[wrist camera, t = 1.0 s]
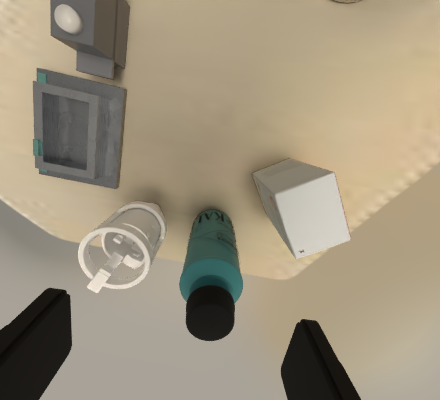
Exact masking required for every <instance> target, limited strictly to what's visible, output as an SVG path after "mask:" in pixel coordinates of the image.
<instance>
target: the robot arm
mask: <svg viewBox="0 0 440 400" xmlns="http://www.w3.org/2000/svg"><path fill="white" fill-rule="evenodd" d="M335 1H338V2H344V3H350V2H358V1H360V0H335ZM71 335H72V334H71V306H70V295H69V294H67V292H66V290H62V289H54V288H48V289H46V290H45V291H44V292H43V293H42V294H41V295H40V296H38V298H36V299H35V300H34V301H33V302H32V303H31V304H30V305H29V306H28V307H27V308H26V309H25V310H24V311H22V312H21V313H20V314H19V315H18V316H17V317H16V318H15V319H14V320H13V321H12V322H11V323H10V324H9V325H6V326H5V327H4V328H2V329H1V330H0V400H39V399H40V397H41V396H42V394H43V393H44V391H45V390H46V388H47V387H48V385H49V384H50V382H51V380H52V379H53V377H54V376H55V374H56V373H57V371H58V370H59V368H60V367H61V365H62V364H63V362H64V361H65V359H66V358H67V356H68V354H69V352H70V350H71V346H72V336H71ZM281 377H282V380H283V384H284V388H285V392H286V395H287V399H288V400H361V399H360V397H359V395H358V393H357V391H356V390H355V388H354V386H353V384H352V382H351V381H350V378H349V377H348V375H347V373H346V371H345V369H344V367H343V366H342V364H341V363H340V362H339V360H338V358H337V357H336V355H335V353H334V351H333V350H332V347H331V345H330V344H329V342H328V340H327V338H326V336H325V334H324V333H323V331H322V329H321V327H320V325H319V323H318V322H317V321H314V320H306V319H302V320H301V321H300V323H299V322H298V323H297V324H296V327H295V330H294V333H293V335H292V338H291V341H290V344H289V347H288V350H287V352H286V355H285V358H284V361H283V364H282V366H281Z"/></svg>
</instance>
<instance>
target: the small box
mask: <svg viewBox="0 0 440 400" xmlns="http://www.w3.org/2000/svg"><path fill="white" fill-rule="evenodd" d="M252 175H253V178H254V181H255V184H256V187H257V189H258V192H259V195H260V198H261V200H262V203H263V206H264V209H265V211H266V214H267V216H268V218H269V219H270V221H271V222H272V224H273V225H274V226H275V228H276V229H277V231H278V233H279V234H280V236H281V237H282V239H283V241H284V242H285V244H286V245H287V247H288V248H289V250H290V251H291V253H292V254H293V256H294V257H295V259H299V258H302V257H305V256H308V255H311V254H314V253H317V252H319V251H322V250H325V249H328V248H330V247H333V246H336V245H339V244H341V243H343V242H346V241H349V240H351V236H350V232H349V228H348V224H347V220H346V216H345V212H344V208H343V204H342V200H341V196H340V192H339V188H338V184H337V180H336V176H335V172H332V171H329V170H325V169H322V168H319V167H316V166H313V165H309V164H306V163H303V162H300V161H296V160H293V159H290V158H289V159H287V160H284V161H282V162H279V163H277V164H274V165H272V166H269V167H266V168H264V169H261V170H259V171H256V172H254V173H252Z"/></svg>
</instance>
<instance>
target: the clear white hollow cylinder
mask: <svg viewBox="0 0 440 400" xmlns="http://www.w3.org/2000/svg"><path fill="white" fill-rule="evenodd" d="M129 208H130V209H129ZM126 209H128V210H127V211H126V212H125V211H124V210H126ZM153 229H154V230H153ZM166 231H167V224H166V220H165V217H164V216H163V214H162V213H161V209H160V207H159V206H158V205H157V204H155V203H146V202H141V201H135V202H130V203H128V204H126V205H124V206H123V207H121V208H120V209H119V210H118V211H117V212H115V213H114V214H113V215H112V216H110V217H109V218H108V219H107V220H106V221H104V222H103V223H102V224H101V225H99V226H98V227H97V228H96V229H94V230H93V231H92V232H90V233H89V234H88V235H87V236H86V237H85V238H84V239H83V240H82V242H81V244H80V246H79V251H78V259H79V263H80V266H81V268H82V269H83V271H84V272H85V274H86V275H87V276H88V277H89V278H90V279H91V282H90V283H89V285H88V286H87V288H88V289H90V290H92V291H94V292H96V293H98V292H99V290H100V289H101V288H102V286H104V287H108V288H112V289H124V288H129V287H132V286H134V285H136V284H138V283H139V282H140V281H142V280H143V279H144V278H145V276H146V275H147V273H148V271H149V269H150V266H151V264H152V262H153V260H154V258H155V256H156V254H157V252H158V249H159V247H160V245H161V243H162V241H163V239H164V237H165V235H166ZM160 232H161V234H160ZM99 234H101V235H102V247H103V250H104V252H105V253H106V255H107V256H108V257H109V258H110V259H109V260H108V261H107V262H106V264H105V265H103V266H102V267H101V269H100V270H99V269H98V268H97V267H96V266H95V265H94V264H93V262H92V260H91V258H90V254H89V252H88V249H89V246H90V243H91V242H92V241H93V240H94V239H95V238H96V237H97V236H98V235H99ZM159 234H160V235H159ZM133 254H135V255H136V256H138V255H139V257H136V256H134V255H133ZM121 262H123V263H125V265H127V266H130V267H132V268H133V269H135V268H138V267H139V266H141V265H142V264H143V263H144V262H145V265H144V267H143V269H142V271H141V272H140V273H139V274H137V275H135V276H133V277H130V278H114V277H111V276H110V275H111V274H112V273H113V271H114V270H115V268H116V267H117V266H118V264H121Z"/></svg>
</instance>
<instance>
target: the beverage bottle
mask: <svg viewBox="0 0 440 400" xmlns="http://www.w3.org/2000/svg"><path fill="white" fill-rule="evenodd" d="M231 222H232V221H230V219H229V217H228V216H227V215H225V214H224V213H222V212H220V211H218V210H208V211H206V212H202V214H200V215H199V216H198V217H197V218H196V220H195V221H194V223H193V226H192V228H191V229H192V230H191V231H192V232H191V236H190V240H189V244H188V250H187V254H186V259H185V263H184V268H183V272H182V275H181V277H180V283H179V285H180V291H181V294H182V296H183V298H184V299H185V301H186V302H187V304H186V325H187V328H188V330H189V332H190V333H191V334H192V335H193V336H195V337H196V338H198V339H201V340H205V341H215V340H219V339H222V338H224V337H225V336H227V335H228V334H229V333H230V332H231V330H232V329H233V326H234V312H235V305H234V303H235V302H236V301H237V300H238V298H239V297H240V295H241V293H242V289H243V280H242V276H241V273H240V267H239V260H238V254H237V252H238V251H237V250H238V249H236V239H235V238H234V236H235V233H233V230H234V229H233V226H232V224H233V223H231ZM186 249H187V248H186ZM239 259H240V258H239Z"/></svg>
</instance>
